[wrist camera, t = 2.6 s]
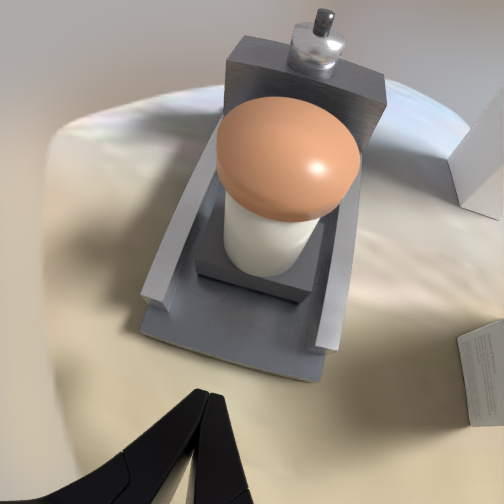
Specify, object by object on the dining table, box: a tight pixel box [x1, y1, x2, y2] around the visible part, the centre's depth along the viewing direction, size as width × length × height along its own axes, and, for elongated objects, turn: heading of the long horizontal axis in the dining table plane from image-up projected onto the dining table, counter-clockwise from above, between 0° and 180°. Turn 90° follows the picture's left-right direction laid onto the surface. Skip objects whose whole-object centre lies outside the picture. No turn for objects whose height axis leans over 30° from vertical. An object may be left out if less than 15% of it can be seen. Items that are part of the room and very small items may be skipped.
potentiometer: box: [287, 9, 346, 77], centre depth 16 cm, size 3×3×4 cm
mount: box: [139, 36, 387, 383], centre depth 18 cm, size 20×10×8 cm, turn 165°
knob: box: [194, 97, 360, 303], centre depth 14 cm, size 5×6×9 cm
